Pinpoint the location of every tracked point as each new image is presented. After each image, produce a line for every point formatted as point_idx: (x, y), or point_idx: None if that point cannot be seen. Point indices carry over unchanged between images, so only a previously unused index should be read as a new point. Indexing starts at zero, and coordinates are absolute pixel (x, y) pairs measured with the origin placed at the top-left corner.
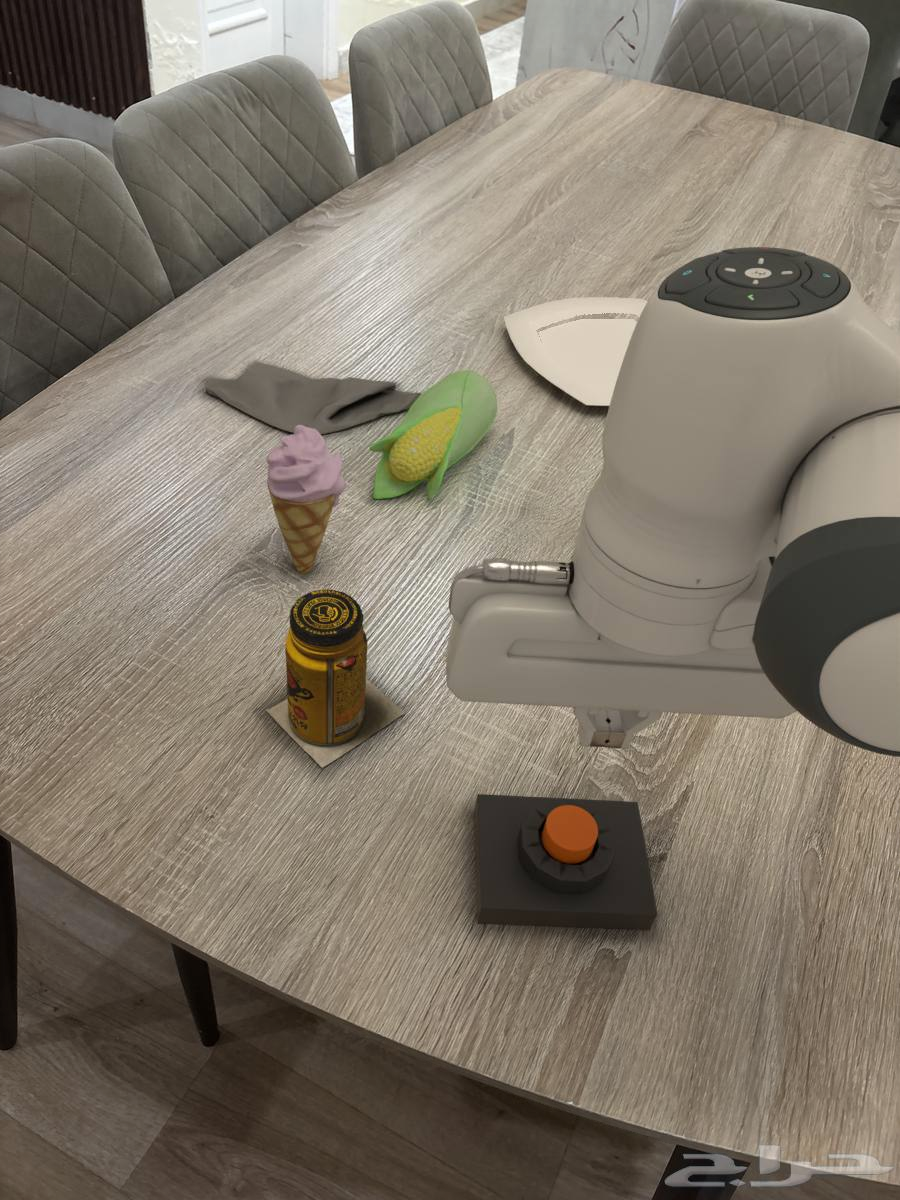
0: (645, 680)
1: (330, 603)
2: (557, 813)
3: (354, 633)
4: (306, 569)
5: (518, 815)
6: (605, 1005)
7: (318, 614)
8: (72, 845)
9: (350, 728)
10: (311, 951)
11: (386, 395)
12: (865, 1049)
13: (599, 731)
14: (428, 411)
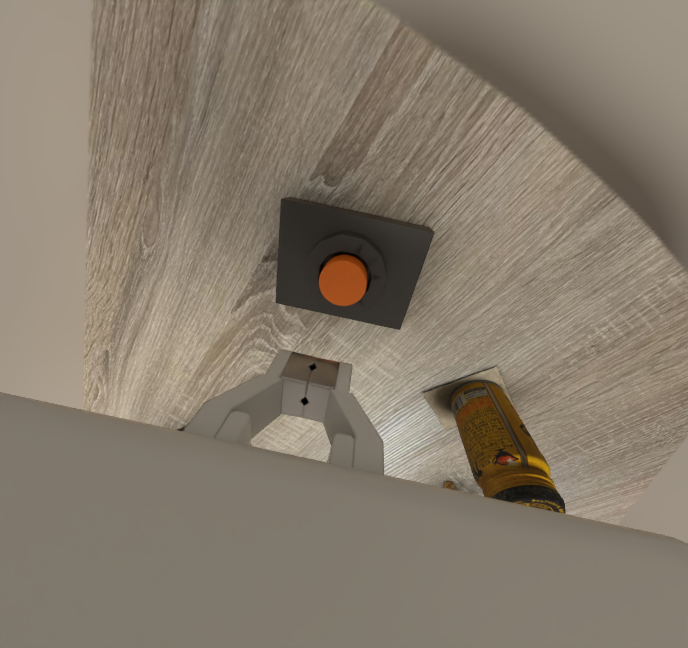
0: (163, 642)
1: None
2: (351, 299)
3: (509, 492)
4: (449, 485)
5: (373, 307)
6: (345, 129)
7: None
8: None
9: (471, 391)
10: (576, 225)
11: None
12: (114, 37)
13: (325, 387)
14: None
